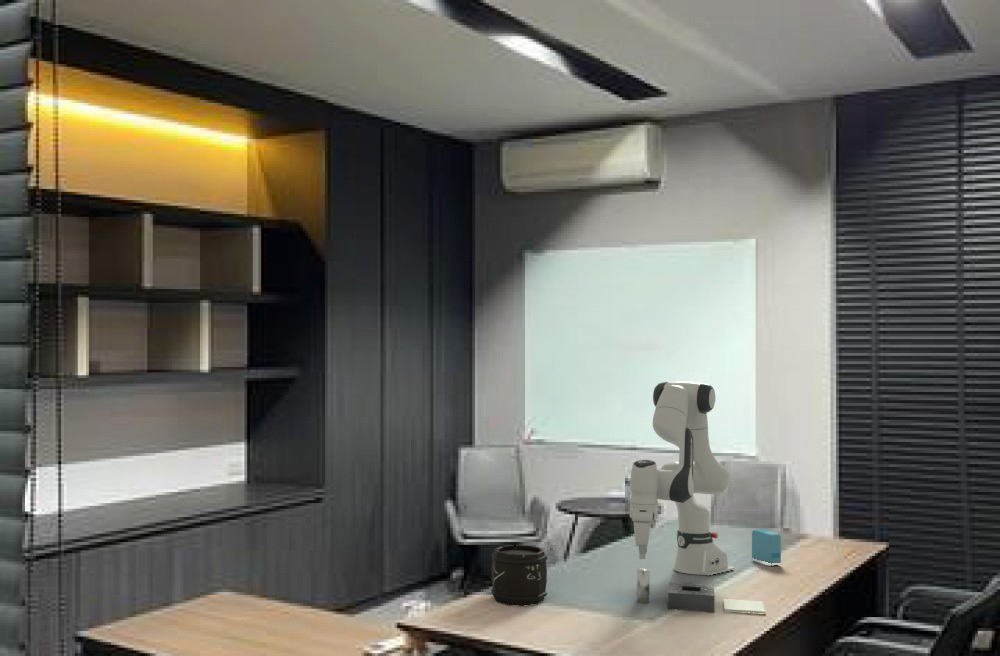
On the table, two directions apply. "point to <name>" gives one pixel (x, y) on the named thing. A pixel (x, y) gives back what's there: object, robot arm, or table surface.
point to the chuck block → (691, 597)
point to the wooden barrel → (519, 575)
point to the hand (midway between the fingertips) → (643, 555)
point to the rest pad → (743, 606)
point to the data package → (766, 546)
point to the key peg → (643, 585)
